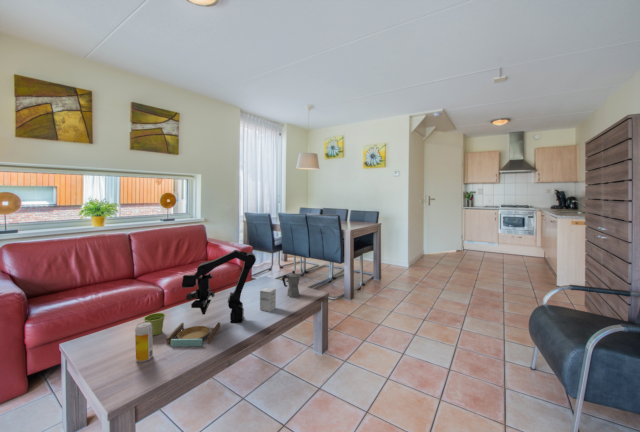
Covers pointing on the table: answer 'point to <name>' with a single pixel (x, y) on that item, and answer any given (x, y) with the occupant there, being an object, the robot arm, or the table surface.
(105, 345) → the table surface
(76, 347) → the table surface
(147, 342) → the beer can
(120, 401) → the table surface
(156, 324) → the plant pot
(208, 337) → the lane walls
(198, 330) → the plant saucer
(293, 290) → the coffeepot
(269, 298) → the supplement box
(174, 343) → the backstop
